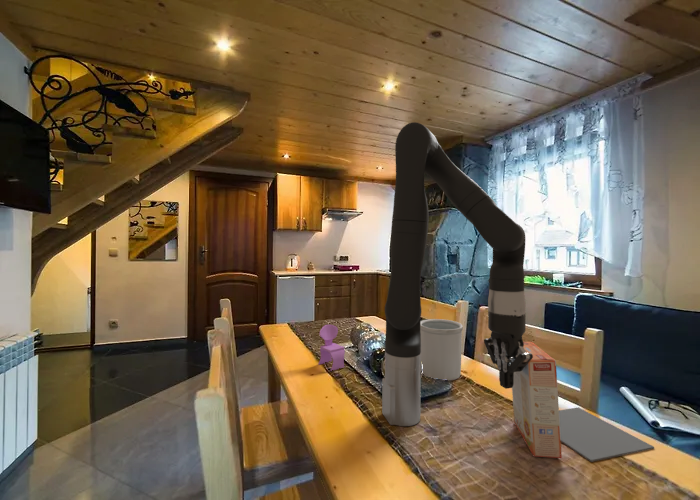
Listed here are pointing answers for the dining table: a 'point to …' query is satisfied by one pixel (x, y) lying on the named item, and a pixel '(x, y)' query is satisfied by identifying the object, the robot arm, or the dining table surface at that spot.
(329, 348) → the toy chair
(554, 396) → the cracker box
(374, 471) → the dining table surface
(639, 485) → the dining table surface
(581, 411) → the mat
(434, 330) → the utensil holder
